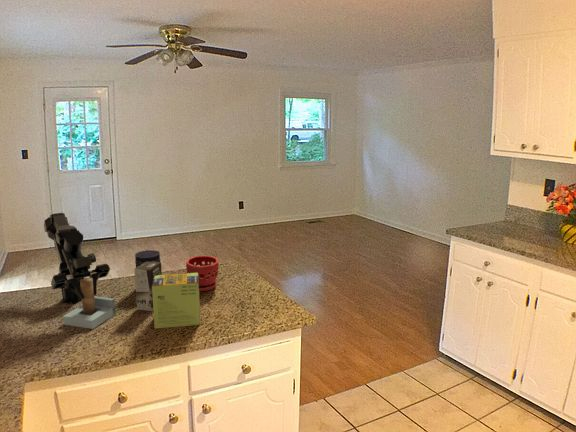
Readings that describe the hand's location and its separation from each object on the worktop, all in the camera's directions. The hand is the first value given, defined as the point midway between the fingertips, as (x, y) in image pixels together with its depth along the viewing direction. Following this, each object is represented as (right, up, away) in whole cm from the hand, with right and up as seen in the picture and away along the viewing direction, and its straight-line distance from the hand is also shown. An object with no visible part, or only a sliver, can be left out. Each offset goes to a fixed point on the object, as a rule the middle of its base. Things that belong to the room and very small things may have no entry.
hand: (89, 296), depth 153 cm
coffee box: (+17, -6, +14) cm, 23 cm away
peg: (-1, -7, +3) cm, 7 cm away
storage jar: (+11, -2, +31) cm, 33 cm away
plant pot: (+33, -2, +32) cm, 46 cm away
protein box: (+30, -9, +3) cm, 31 cm away
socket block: (-1, -8, +3) cm, 9 cm away
